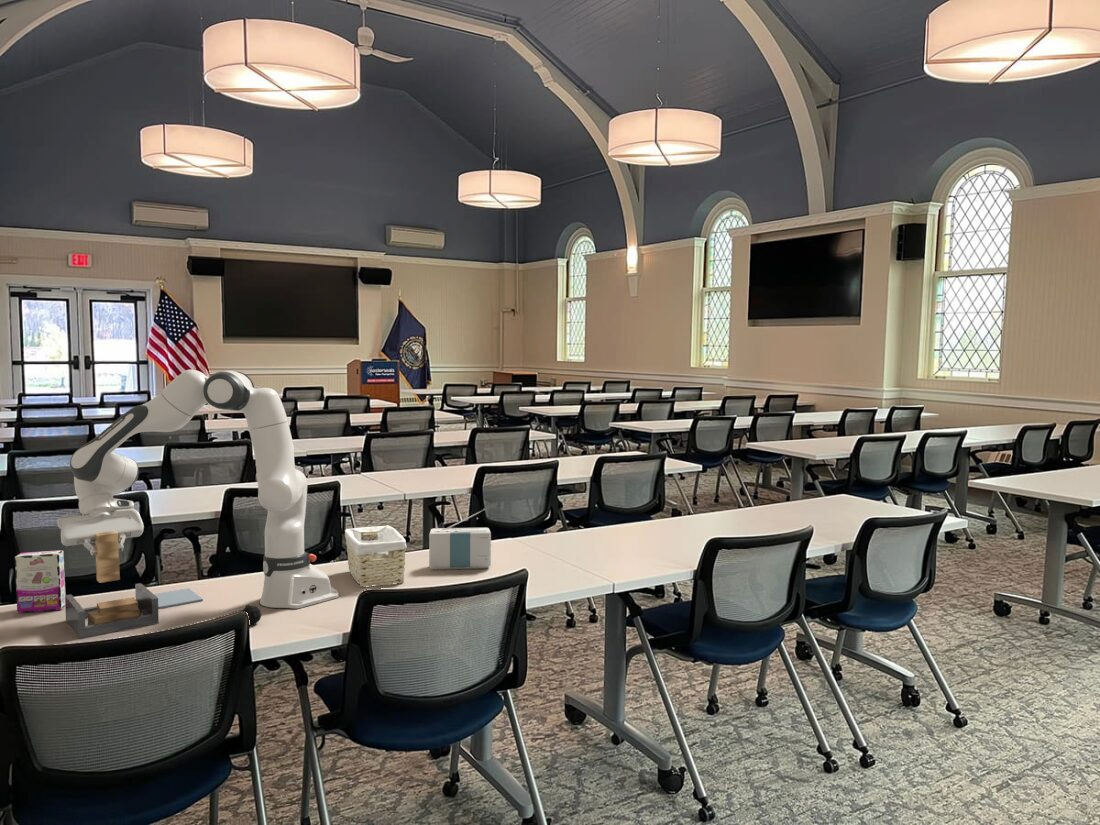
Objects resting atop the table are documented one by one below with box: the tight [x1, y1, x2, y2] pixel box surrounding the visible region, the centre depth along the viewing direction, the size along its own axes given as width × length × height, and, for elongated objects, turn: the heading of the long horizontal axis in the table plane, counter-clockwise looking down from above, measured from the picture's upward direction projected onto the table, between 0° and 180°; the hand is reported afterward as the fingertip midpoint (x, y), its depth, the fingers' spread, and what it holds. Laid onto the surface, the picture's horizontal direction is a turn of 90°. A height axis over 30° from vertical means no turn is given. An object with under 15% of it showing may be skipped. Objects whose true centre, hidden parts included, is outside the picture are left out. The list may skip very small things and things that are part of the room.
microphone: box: [242, 604, 262, 627], centre depth 215 cm, size 6×6×20 cm
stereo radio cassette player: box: [428, 508, 492, 570], centre depth 279 cm, size 21×8×20 cm, turn 97°
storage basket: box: [344, 525, 407, 588], centre depth 266 cm, size 24×16×15 cm
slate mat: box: [153, 587, 204, 610], centre depth 240 cm, size 14×14×1 cm
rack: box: [64, 582, 160, 640], centre depth 220 cm, size 19×18×7 cm
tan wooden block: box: [94, 531, 121, 584], centre depth 222 cm, size 5×4×13 cm
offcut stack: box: [87, 597, 143, 626], centre depth 219 cm, size 12×7×6 cm, turn 131°
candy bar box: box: [14, 549, 66, 614], centre depth 230 cm, size 11×5×16 cm, turn 106°
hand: (107, 552), depth 222 cm, fingers closed on tan wooden block, 5 cm apart
